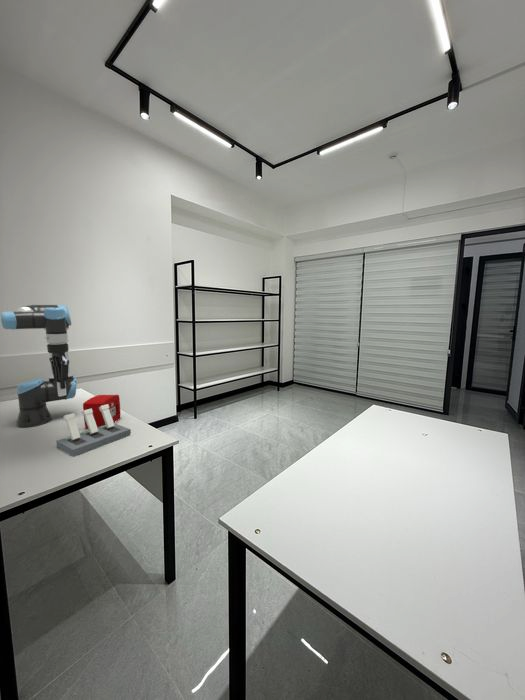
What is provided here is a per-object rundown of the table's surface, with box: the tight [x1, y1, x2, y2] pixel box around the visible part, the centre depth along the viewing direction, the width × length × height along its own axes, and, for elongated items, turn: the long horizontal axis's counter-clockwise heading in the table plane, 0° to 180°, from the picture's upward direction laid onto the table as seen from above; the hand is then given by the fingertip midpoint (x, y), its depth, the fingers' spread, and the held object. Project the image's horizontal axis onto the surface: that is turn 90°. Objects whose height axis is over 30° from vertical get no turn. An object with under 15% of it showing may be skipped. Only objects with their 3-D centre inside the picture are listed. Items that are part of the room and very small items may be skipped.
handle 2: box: [99, 404, 115, 429], centre depth 144 cm, size 2×4×12 cm
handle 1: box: [81, 408, 98, 434], centre depth 138 cm, size 2×4×12 cm
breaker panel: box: [55, 422, 132, 457], centre depth 137 cm, size 16×26×3 cm, turn 147°
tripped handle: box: [62, 412, 80, 440], centre depth 131 cm, size 2×4×12 cm, turn 146°
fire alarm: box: [82, 394, 121, 430], centre depth 157 cm, size 16×11×15 cm
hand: (62, 395), depth 129 cm, fingers closed
